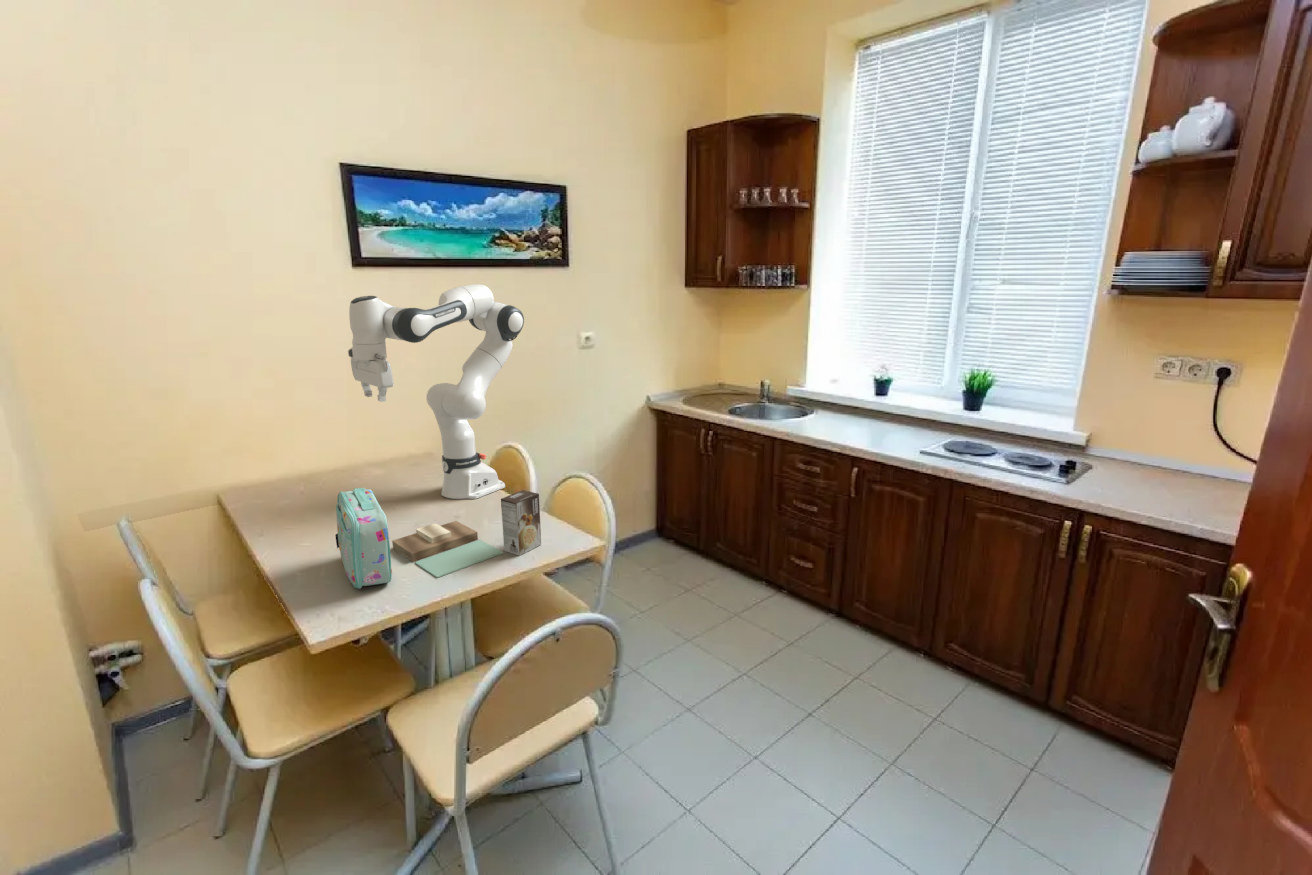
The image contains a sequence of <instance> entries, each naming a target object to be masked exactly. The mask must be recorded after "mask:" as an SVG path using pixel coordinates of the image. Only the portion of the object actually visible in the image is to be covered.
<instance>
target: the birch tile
mask: <svg viewBox="0 0 1312 875" xmlns="http://www.w3.org/2000/svg"><path fill="white" fill-rule="evenodd" d="M415 530H416V533H417V534H418V535H419V536H421V537H423V538H424V539H426V540H428V541H429V542H431V543H434V542H437V541H440V540H443V539H446V538H449V537H451V532H450V531H448V530H447V529H445V528H443V527H441V525H440V524H437V523H436V522H435V523H431V524H428V525H425V526H422V527H418V528H416V529H415Z"/></svg>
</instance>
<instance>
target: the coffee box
mask: <svg viewBox="0 0 1312 875" xmlns="http://www.w3.org/2000/svg"><path fill="white" fill-rule="evenodd" d="M500 506H501V521H502V522H501V523H502V537H503V539H502V540H503V551H504V552H507V553H509V554H510V553H511V554H512V555H516V556H519V557H520V556H522V555H524V554H526V553H528V552H530V551H532V550H533V549H535V548H537V547H539V546H541V545H542V536H541V535H542V532H541V531H542V530H541V529H542V528H541V513H540V511H541V510H540V509H541V508H540V494H539V493H538V492H534V491H529V490H525V489H521V490H520V491H517V492H515V493H512V494H510V495H507V496H504V497H502V498H500Z"/></svg>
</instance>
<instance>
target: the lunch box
mask: <svg viewBox="0 0 1312 875" xmlns="http://www.w3.org/2000/svg"><path fill="white" fill-rule="evenodd" d="M335 513H336V528H337V529H336V532H337V533H335V535H334V536H335V543H336V549H339V554H340V558H341V562H342V564H343V566H344V567H343V568H344V572H345V574H346V576H347V579H348V580H349V582H350V583H351V585H352V586H353V588H354V589H362V587H368V586H374V585H380V584H386V583H391V581H392V576H393V570H392V556H391V546H390V534H389V525H388V518H387V515H386V513H385V512H384V510H383V509H382V507H381V505H380V503H379V502H378V500H377V498H376V496H375V494H374V491H373V490H371V489H370V488H369V489H366V488H365V487H358V488H357V487H356V488H353V489H352V490H348V491H339V493H338V495H337V502H336V505H335Z"/></svg>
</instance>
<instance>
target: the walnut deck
mask: <svg viewBox="0 0 1312 875" xmlns="http://www.w3.org/2000/svg"><path fill="white" fill-rule="evenodd" d="M440 526H441V527H443V528H445V529H447V530H448V531H450V532H451V537H449V538H446V539H443V540H440V541H437V542H434V543H431V542H429V541H428V540H426V539H424V538H423V537H421V536H419V535H418V534H417V533H413V534H409V535H407V536H404V537H403V536H402V537H400V538H397V539H396V538H395V539H393V540H391V542H392V548H393V550H394V551H396V552H397V553H399V554H400V555H401V556H403V557H405V558H407V559H408V560H409V561H411V562H412V563H415V562H416V561H419V560H422V559H425V558H428V557H431V556H434V555H437V554H439V553H442V552H445V551H448V550H451V549H454V548H457V547H460V546H462V545H465V544H468V543H471V542H474V541H477V540H479V538H478V537H479V536H478V535H479V534H478V531H477V530H475V529H472V528H470V527H469V526H468V525H465V524H463V523H461V522H459V521H457V520H455V521H450V522H448V523H445V524H441V525H440Z"/></svg>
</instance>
